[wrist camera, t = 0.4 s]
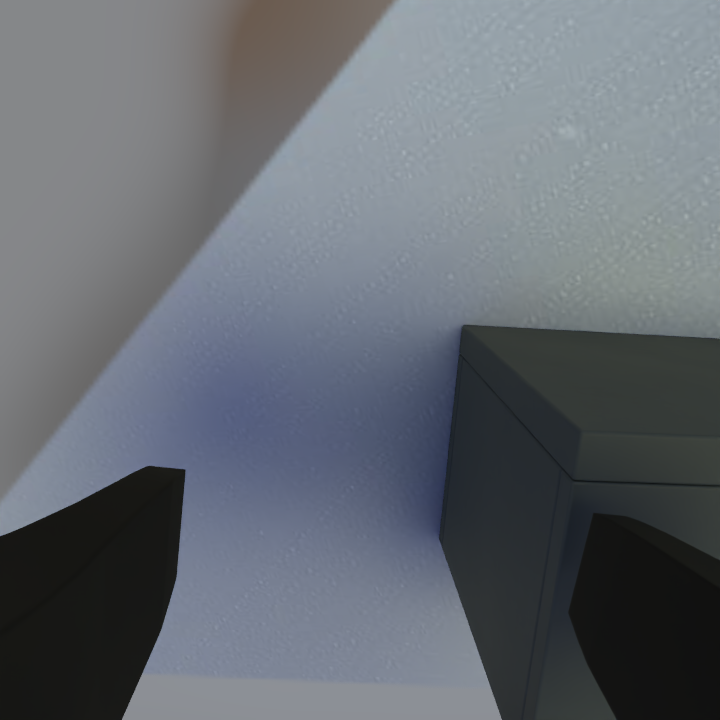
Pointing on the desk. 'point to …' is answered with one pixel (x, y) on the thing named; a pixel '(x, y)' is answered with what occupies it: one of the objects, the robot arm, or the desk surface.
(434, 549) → the desk surface
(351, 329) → the desk surface
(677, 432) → the dark grey storage bin
